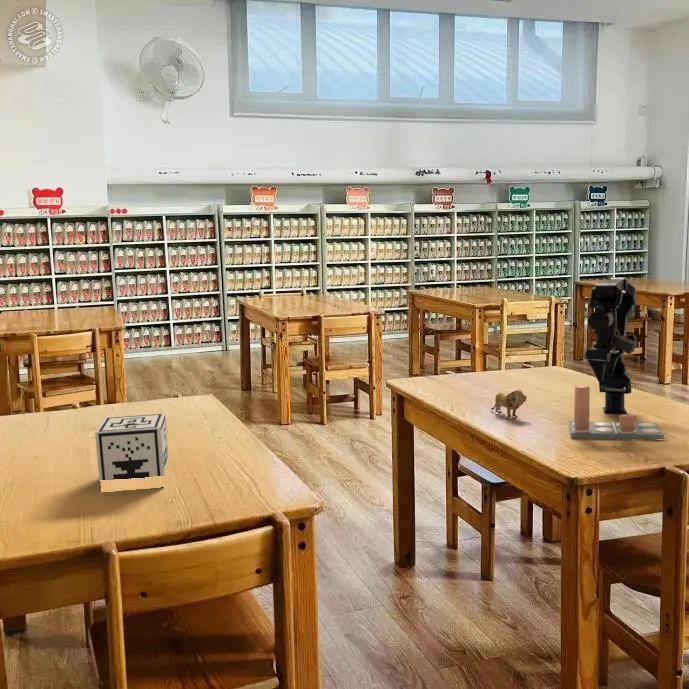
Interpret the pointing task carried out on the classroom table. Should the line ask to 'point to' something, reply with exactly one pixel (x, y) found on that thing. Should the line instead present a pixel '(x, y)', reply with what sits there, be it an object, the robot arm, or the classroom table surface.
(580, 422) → the terracotta pin
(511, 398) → the lion figurine
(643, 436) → the pattern board
